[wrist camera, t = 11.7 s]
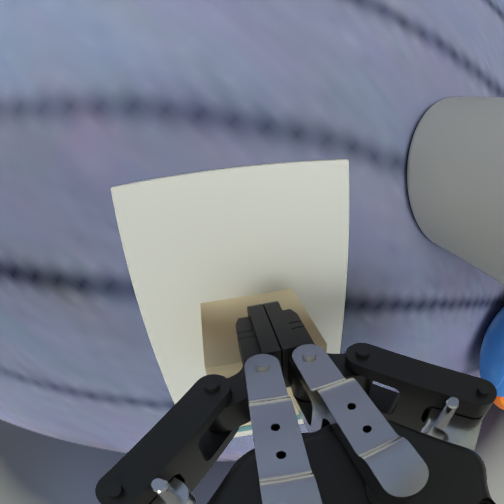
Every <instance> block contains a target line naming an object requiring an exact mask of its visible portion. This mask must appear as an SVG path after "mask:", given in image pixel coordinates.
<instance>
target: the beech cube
mask: <svg viewBox="0 0 504 504" xmlns="http://www.w3.org/2000/svg"><path fill="white" fill-rule="evenodd" d="M274 301H278V302H279V304H280V306H281V308H282V310H287V309H291V310H293V311H294V312H296V313H297V314H298V315H299V317H300V319H301V322H303V324H304V327H305V328H306V330H307V331H308V333H309V335H310V337H311V338H312V340H313V342H314V344H315V345H317V346H320V347H322V348H323V349H324V350H325V352H326V351H327V343H326V342H325V340H324V338H323V337H322V335H321V333H320V332H319V330H318V329H317V327H316V325H315V324H314V322H313V321H312V319H311V317H310V316H309V314H308V313H307V311H306V309H305V308H304V306H303V305H302V303H301V301H300V300H299V298H298V297H297V295H296V293H295V292H294V290H293V289H292V288H290V289H285V290H279V291H273V292H267V293H261V294H256V295H249V296H243V297H237V298H231V299H224V300H218V301H211V302H205V303H200V306H201V323H202V338H203V352H204V365H205V371H206V374H207V375H210V374H218V375H222V376H224V377H226V378H229V377H231V376H233V375H235V374H237V373H238V372H239V371H240V370H241V369H242V367H243V364H242V360H241V356H240V351H239V346H238V340H237V333H236V327H235V325H236V322H237V320H238V318H243V317H248V314H247V306H252V305H258V304H262V305H263V303H269V302H274ZM286 389H287V393H288V396H290V397H291V399H292V390H291V387H287V388H286ZM292 402H293V400H292ZM293 405H294V409H295V413H296V416H297V420H299V419H302V418H301V416H300V414H299V412H298V410H297V408H296V406H295V404H294V402H293ZM248 430H252V425H251V421H250V422H248V423H246V424H244V425H242V426H240V427H239V430H238V432H242V431H248Z"/></svg>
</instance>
